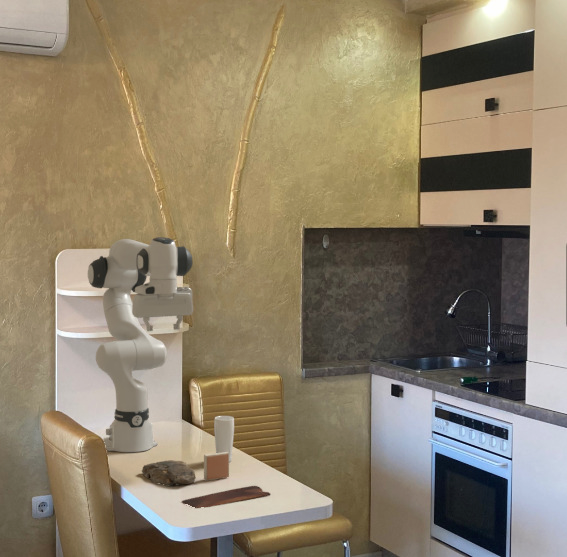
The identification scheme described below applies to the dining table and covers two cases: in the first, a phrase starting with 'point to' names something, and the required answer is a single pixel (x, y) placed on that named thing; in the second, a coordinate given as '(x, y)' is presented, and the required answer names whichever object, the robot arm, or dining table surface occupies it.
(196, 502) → the wooden tablet
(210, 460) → the tile
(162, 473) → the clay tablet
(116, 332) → the robot arm
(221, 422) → the drinking glass
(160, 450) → the dining table surface
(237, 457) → the dining table surface
